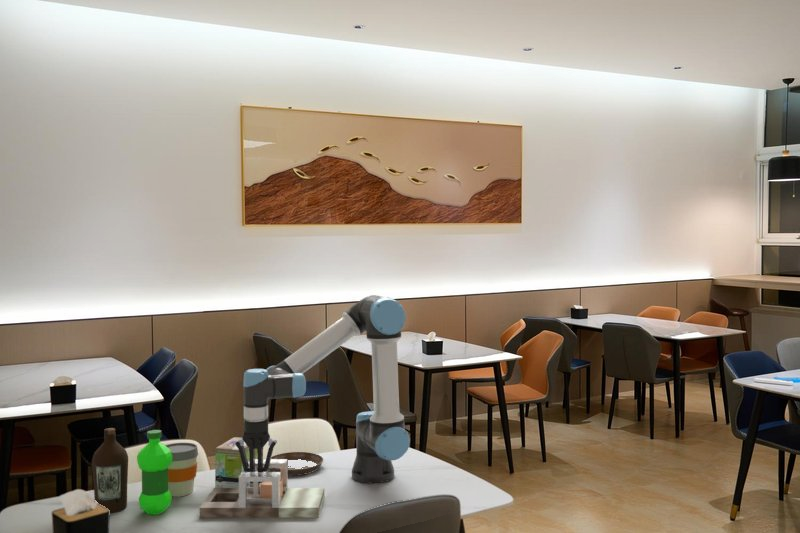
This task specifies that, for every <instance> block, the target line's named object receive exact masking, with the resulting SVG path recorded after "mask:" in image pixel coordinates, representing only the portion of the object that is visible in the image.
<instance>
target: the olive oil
mask: <svg viewBox="0 0 800 533" xmlns="http://www.w3.org/2000/svg"><path fill="white" fill-rule="evenodd" d="M103 432H104V433H103V442H102V443H101V445H100V446H99V447H98V448H97V449H96V450H95V451H94V453H93V456H92V459H91V468H92V478H93V482H92V483H93V495H94V496H93V497H94V501H95V500H96V501H97V502H98V503H99V504H101V505H103V506H105V507H106V508H108V509H109V510H110V513H109V514H112V513H118V512H121V511H123V510H125V509H126V508H127V506H128V478H129V477H128V476H129V454H128V451H127V450H126V449H125V448H124V447H123V446H122V445H121V444H120V443H119V442H118V441H117V439H116V435H117V434H116V428H114V427H109V428H105V429H104V431H103ZM120 510H121V511H120ZM117 511H118V512H117Z"/></svg>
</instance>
